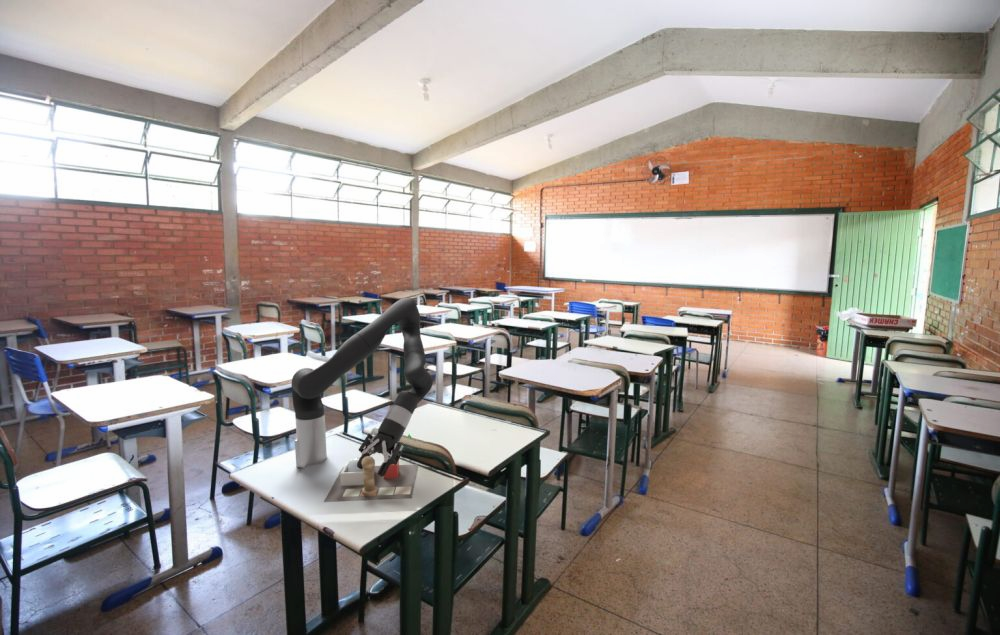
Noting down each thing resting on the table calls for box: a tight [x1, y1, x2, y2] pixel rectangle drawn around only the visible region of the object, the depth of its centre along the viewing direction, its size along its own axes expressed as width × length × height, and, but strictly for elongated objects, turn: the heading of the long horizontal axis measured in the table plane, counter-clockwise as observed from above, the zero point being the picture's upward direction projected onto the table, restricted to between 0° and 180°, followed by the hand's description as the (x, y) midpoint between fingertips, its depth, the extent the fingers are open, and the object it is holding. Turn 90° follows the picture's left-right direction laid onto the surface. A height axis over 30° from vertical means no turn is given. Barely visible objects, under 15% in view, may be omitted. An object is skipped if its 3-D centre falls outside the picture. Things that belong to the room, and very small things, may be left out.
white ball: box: [348, 456, 363, 472], centre depth 148 cm, size 6×6×6 cm
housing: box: [339, 460, 376, 486], centre depth 148 cm, size 9×9×4 cm
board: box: [323, 464, 419, 503], centre depth 146 cm, size 25×22×2 cm
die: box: [383, 460, 400, 479], centre depth 150 cm, size 4×4×4 cm
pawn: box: [361, 455, 377, 495], centre depth 139 cm, size 4×4×11 cm
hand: (369, 471), depth 140 cm, fingers open, 8 cm apart
